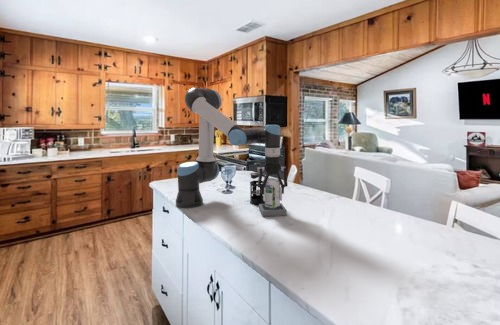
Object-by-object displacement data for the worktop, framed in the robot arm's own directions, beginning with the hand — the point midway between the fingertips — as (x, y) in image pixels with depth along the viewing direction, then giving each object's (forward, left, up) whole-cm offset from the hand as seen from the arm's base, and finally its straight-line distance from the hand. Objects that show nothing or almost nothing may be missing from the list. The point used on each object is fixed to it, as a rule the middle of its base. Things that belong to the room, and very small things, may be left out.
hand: (272, 200), depth 146 cm
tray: (0, 0, -7) cm, 7 cm away
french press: (-5, +19, -7) cm, 21 cm away
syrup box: (0, 0, -3) cm, 3 cm away
